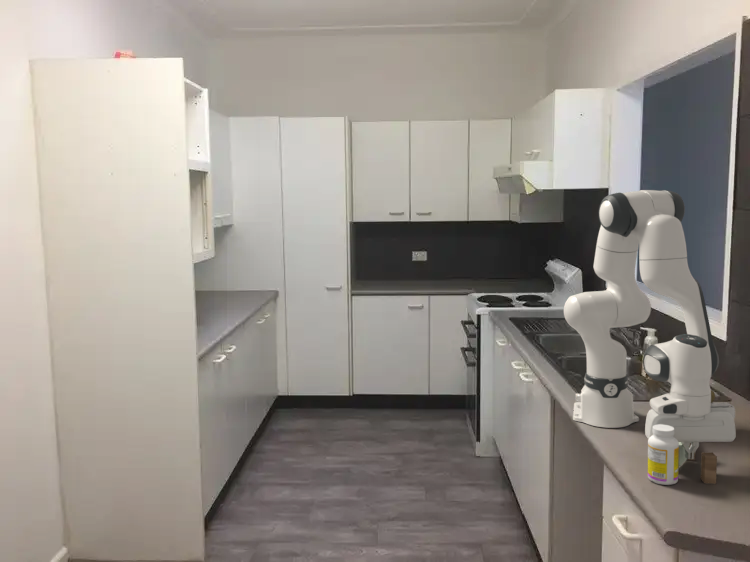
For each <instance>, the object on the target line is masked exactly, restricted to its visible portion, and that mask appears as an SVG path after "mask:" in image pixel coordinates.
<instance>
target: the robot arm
mask: <svg viewBox="0 0 750 562" xmlns="http://www.w3.org/2000/svg"><path fill="white" fill-rule="evenodd" d="M685 207H686V206H685V203H684V199H683V198H682V196H681V195H680V194H679V193H677V192H675V191H672V190H667V189H666V190H665V189H662V190H655V189H641V190H634V191H628V192H626V191H625V192H616V193H615V192H614V193H612V194H611V193H610V194H608V195H607V196H604V197H603V199H602V200H601V202H600V204H599V206H598V220H599V223H600V227H599V231H598V235H597V240H596V245H595V252H594V260H593V265H592V266H593V270H594V273H595V275H596V276H597V277H598V278H600V279H602V280H603V281H605V282H606V283H607V285H606V290H605V289H604V290H598V291H596V290H594V291H584V292H580V293H577V294H573V295H569V297H568V298H567V300H566V301H565V303H564V306H563V317H564V319H565V321H566V322H567V324H568V325H569V326H570V327H571V328H572V329H574V330H575V331H576V332H577V334H579V336H580V337H581V339H582V341H583V343H584V347H585V354H586V355H585V356H586V372H585V373H584V374H585V375H584V385H583V387H582V389H581V390H580V391H581V392H580V393H577V392H576V393H575V402H574V403H573V410H574V411H572V412H573V413H572V420H573V421H575V422H581V423H584V424H587V425H589V426H594V427H598V428H607V429H608V428H609V429H616V428H624V427H628V426H630V425H631V424H633V423H635V422H639V421H640V418H639V416H638V415H636V414H635V413H634V395H633V393H632V392H631V391H630V390H629V389H628V388H629V387H628V385H629V377H628V374H627V356H628V355H627V350H626V347H625V346H624V345H622V343H621V342H619V341H617V340H615V339H613V338H612V336H611V331H610V330H611V329H615V328H626V327H627V328H628V327H632V326H637V325H639V324H643V323H645V322H646V321H648V318H649V317H650V315H651V312H652V304H651V301H650V299H649V297H648V295H647V294H646V293H645V292H644V291H642V290H641V289H640V288H639V285H638V284H637V278H636V265H637V256H639V257H638V258H639V259H638V260H639V261H638V262H639V264H638V265H639V274H640V279H641V281H642V283H643V284H644V285H645V286H646V287H647V289H649V290H651V291H652V292H653V293H655V294H658V295H660V296H663V297H666V298H668V299H672V300H673V301H675V302H676V303H677V304H678V305H679V306H680V307H681V310H682V313H683V314H682V315H683V318H684V319H683V320H684V324H685V328H686V329H685V330H686V334H685V333H683V334H679V335H676V336H674V337H673V339H671V340H668V341H665V342H661V343H654V344H651V345H649V346H648V347H647V348H646V350H645V352H644V354H643V359H642V363H643V364H642V365H643V370H644V372H645V373H646V375H647V376H648V377H649V378H651V380H653V381H656V382H664V383H665V382H668V383H669V384H670V391H669V392H667V393H664V394H662V395H659V396H655V397H651V399H650V400H649V406H650V407H651V408H650V409H649V410H648V412H647V413H646V419H645V425H644V426H645V427H644V434H645V436H646V438H647V440H648V439H649V438H650V437H651V436H652V435H654V434H653V426H654V425H658V424H663V425H669V426H672V427H673V428H674V435H673V437H674V438H676V439H677V440H678V442H681V444H682V446H683V447H684V449H685V458H687V459H694V453H695V454H696V451H697V450H698V448H699V447H700V443H702V442H703V443H706V442H707V443H708V442H709V443H710V442H714V443H715V442H716V443H718V442H719V443H720V442H722V443H723V442H725V443H727V442H728V443H729V442H731V443H732V442H733V441H734V440H735V439H736V437H737V436H736V425H735V418H736V409H735V406H734V405H732V404H730V403H729V402H713V403H711V390H712V389H711V386H710V380H711V378H712V377H713V375H714V374H715V373H716V372H717V370H718V367H719V364H720V358H719V356H720V355H719V354H718V351H717V347H716V345H715V343H714V339H713V335H712V331H711V325H710V321H709V316H708V310H707V305H706V301H705V296H704V292H703V289H702V286H701V284H700V282H699V281H698V280H697V279H696V278H694V277H693V275H692V273H691V271H690V268H689V264H688V252H687V251H688V250H687V243H686V236H685V231H684V228H683V225H682V221H683V219H684V216H685V212H686V210H685ZM638 250H639V251H638ZM690 443H691V446H690ZM688 446H690V448H688Z"/></svg>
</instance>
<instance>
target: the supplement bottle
mask: <svg viewBox="0 0 750 562" xmlns="http://www.w3.org/2000/svg"><path fill="white" fill-rule="evenodd" d="M653 434H654V435H652V436H651V437H650V438H649V439H648V438H647V478H648V480H650V482H652V483H654V484H658V485H663V486H664V485H665V486H670V485H675V484H677V483H678V482H679V469H678V460H679V443H678V440H677V439H676V438H674V437H673V435H674V428H673V427H672V426H669V425H663V424H658V425H654V426H653Z"/></svg>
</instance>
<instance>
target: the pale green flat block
mask: <svg viewBox="0 0 750 562" xmlns="http://www.w3.org/2000/svg"><path fill="white" fill-rule="evenodd" d="M678 443H679V460H678V470H679V469H680V467H681V466H682V465H683V463H685V462H686V461H688V460H687V458H685V449H684V447H683V446H682V444H681V442H678ZM688 448H689V446H688Z"/></svg>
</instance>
